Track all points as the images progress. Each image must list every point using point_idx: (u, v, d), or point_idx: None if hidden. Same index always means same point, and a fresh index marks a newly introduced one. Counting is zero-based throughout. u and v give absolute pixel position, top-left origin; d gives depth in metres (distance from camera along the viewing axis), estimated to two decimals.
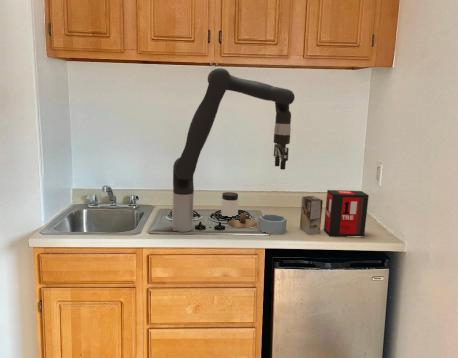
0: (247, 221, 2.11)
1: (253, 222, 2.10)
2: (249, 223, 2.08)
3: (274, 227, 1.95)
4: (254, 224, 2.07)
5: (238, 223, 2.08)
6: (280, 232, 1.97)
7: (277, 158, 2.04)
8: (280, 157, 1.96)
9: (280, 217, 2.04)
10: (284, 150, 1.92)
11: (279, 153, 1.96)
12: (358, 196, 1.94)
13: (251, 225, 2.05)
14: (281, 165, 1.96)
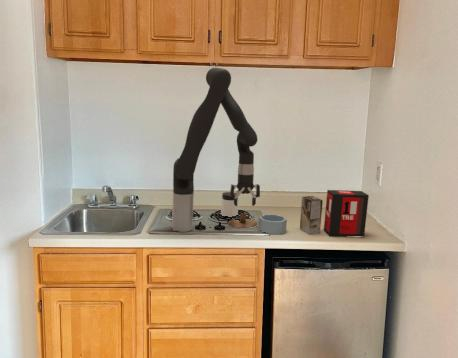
0: (247, 221, 2.11)
1: (253, 222, 2.10)
2: (249, 223, 2.08)
3: (274, 227, 1.95)
4: (254, 224, 2.07)
5: (238, 223, 2.08)
6: (280, 232, 1.97)
7: (236, 198, 2.06)
8: (252, 195, 2.06)
9: (280, 217, 2.04)
10: None
11: (252, 191, 2.05)
12: (358, 196, 1.94)
13: (251, 225, 2.05)
14: (254, 202, 2.07)
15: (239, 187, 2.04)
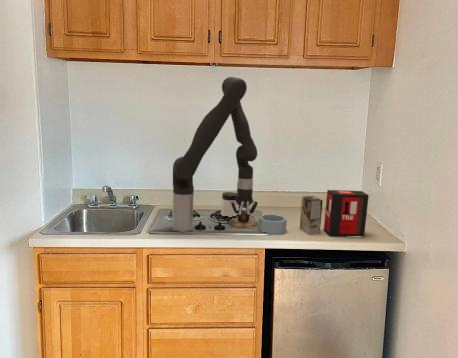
0: None
1: (253, 221, 2.10)
2: (249, 223, 2.08)
3: (274, 227, 1.95)
4: (254, 223, 2.07)
5: (238, 222, 2.08)
6: (280, 232, 1.97)
7: None
8: (247, 210, 2.07)
9: (280, 217, 2.04)
10: None
11: None
12: (358, 196, 1.94)
13: (252, 224, 2.05)
14: (247, 218, 2.08)
15: (238, 203, 2.06)
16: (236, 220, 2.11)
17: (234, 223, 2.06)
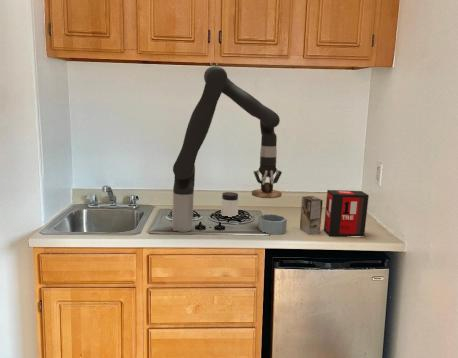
0: None
1: (277, 192, 2.02)
2: (273, 193, 2.00)
3: (274, 227, 1.95)
4: (279, 193, 1.99)
5: (262, 192, 2.00)
6: (280, 232, 1.97)
7: (264, 183, 2.00)
8: (271, 180, 1.99)
9: (280, 217, 2.04)
10: None
11: (272, 176, 1.98)
12: (358, 196, 1.94)
13: (276, 194, 1.97)
14: (271, 188, 2.00)
15: (262, 172, 1.98)
16: (259, 191, 2.03)
17: (258, 193, 1.98)
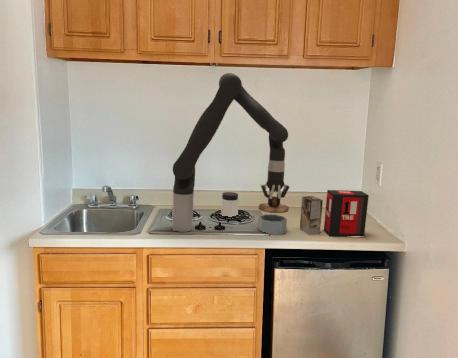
0: None
1: (284, 206, 2.01)
2: (280, 207, 1.98)
3: (274, 227, 1.95)
4: (286, 208, 1.98)
5: (269, 206, 1.99)
6: (280, 232, 1.97)
7: (271, 197, 1.98)
8: (278, 194, 1.98)
9: (280, 217, 2.04)
10: None
11: (280, 191, 1.97)
12: (358, 196, 1.94)
13: (283, 209, 1.95)
14: (278, 202, 1.99)
15: (269, 186, 1.96)
16: (266, 205, 2.02)
17: (265, 207, 1.96)
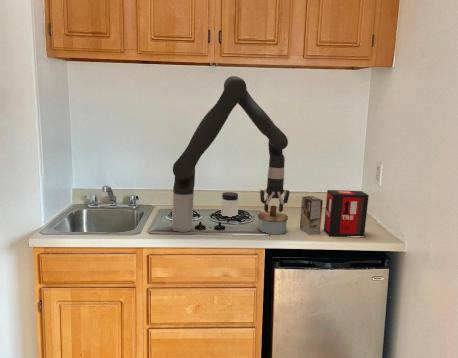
0: (277, 214, 2.03)
1: (283, 215, 2.02)
2: (279, 216, 1.99)
3: (274, 227, 1.95)
4: (285, 217, 1.99)
5: (268, 215, 2.00)
6: (280, 232, 1.97)
7: (267, 203, 1.99)
8: (280, 200, 1.99)
9: None
10: None
11: (281, 197, 1.98)
12: (358, 196, 1.94)
13: (283, 218, 1.96)
14: (281, 208, 2.00)
15: (269, 192, 1.97)
16: (265, 214, 2.02)
17: (264, 217, 1.97)
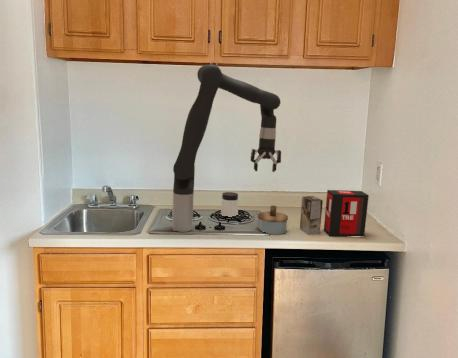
0: (277, 214, 2.03)
1: (283, 215, 2.02)
2: (279, 216, 1.99)
3: (274, 227, 1.95)
4: (285, 217, 1.99)
5: (268, 215, 2.00)
6: (280, 232, 1.97)
7: None
8: (273, 160, 2.01)
9: None
10: None
11: (273, 157, 2.01)
12: (358, 196, 1.94)
13: (283, 218, 1.96)
14: (275, 168, 2.03)
15: (260, 152, 2.00)
16: (265, 214, 2.02)
17: (264, 217, 1.97)
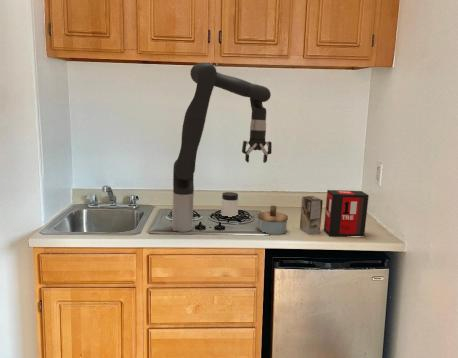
0: (277, 214, 2.03)
1: (283, 215, 2.02)
2: (279, 216, 1.99)
3: (274, 227, 1.95)
4: (285, 217, 1.99)
5: (268, 215, 2.00)
6: (280, 232, 1.97)
7: None
8: (264, 151, 2.07)
9: None
10: None
11: (264, 148, 2.06)
12: (358, 196, 1.94)
13: (283, 218, 1.96)
14: (265, 159, 2.08)
15: (251, 143, 2.05)
16: (265, 214, 2.02)
17: (264, 217, 1.97)
